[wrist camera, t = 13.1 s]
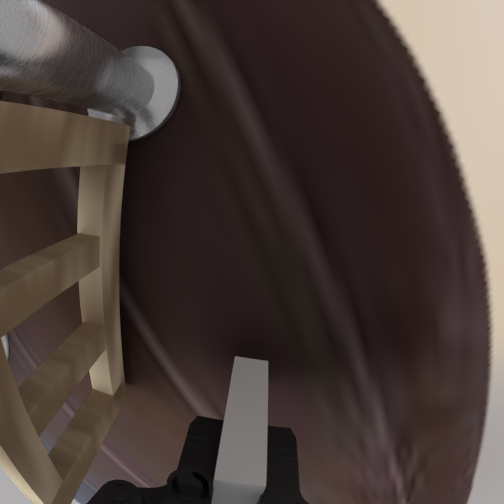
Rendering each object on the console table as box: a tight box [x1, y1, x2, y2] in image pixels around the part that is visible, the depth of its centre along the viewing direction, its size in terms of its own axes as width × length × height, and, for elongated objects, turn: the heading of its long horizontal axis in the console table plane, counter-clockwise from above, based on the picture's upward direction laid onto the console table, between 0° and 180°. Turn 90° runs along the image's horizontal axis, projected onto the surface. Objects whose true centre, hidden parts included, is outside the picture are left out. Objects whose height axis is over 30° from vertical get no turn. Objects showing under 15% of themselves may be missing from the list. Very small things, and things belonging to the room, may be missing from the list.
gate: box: [0, 101, 131, 504], centre depth 8 cm, size 14×1×9 cm, turn 171°
